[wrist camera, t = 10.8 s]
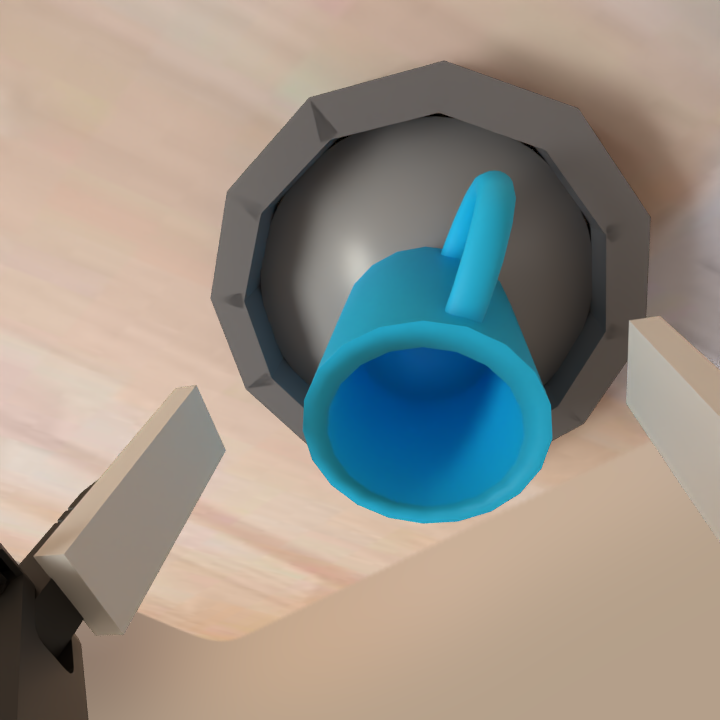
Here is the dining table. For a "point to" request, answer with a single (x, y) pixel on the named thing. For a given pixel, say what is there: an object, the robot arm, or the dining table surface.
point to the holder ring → (430, 228)
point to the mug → (432, 378)
